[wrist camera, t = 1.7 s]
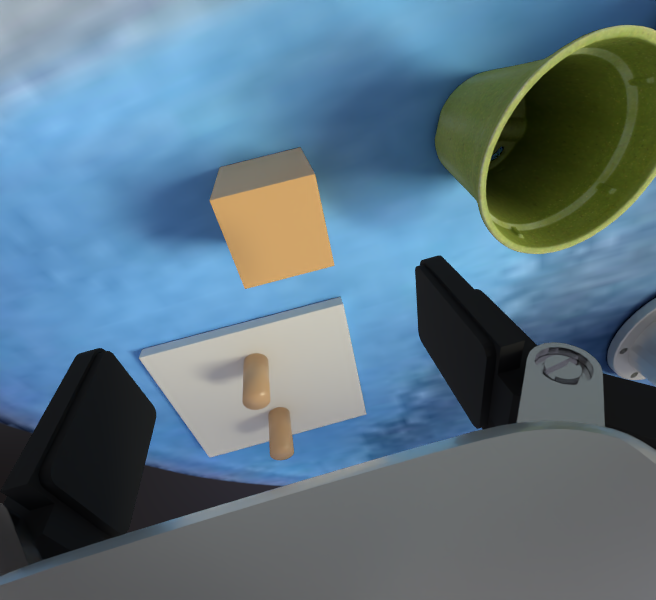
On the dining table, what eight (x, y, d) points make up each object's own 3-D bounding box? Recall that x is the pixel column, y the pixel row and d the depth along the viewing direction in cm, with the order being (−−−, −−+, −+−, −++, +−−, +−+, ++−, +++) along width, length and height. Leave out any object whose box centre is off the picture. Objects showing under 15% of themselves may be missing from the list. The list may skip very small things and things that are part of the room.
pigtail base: (340, 296, 28) (355, 336, 24) (363, 406, 36) (377, 450, 32) (142, 349, 28) (123, 399, 24) (210, 448, 36) (205, 498, 32)
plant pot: (570, 126, 24) (704, 155, 17) (456, 225, 26) (530, 286, 19) (510, -8, 19) (663, -48, 12) (379, 129, 22) (440, 162, 15)
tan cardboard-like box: (300, 147, 21) (315, 173, 16) (317, 222, 24) (334, 265, 19) (219, 167, 21) (209, 200, 16) (246, 241, 24) (245, 288, 19)
